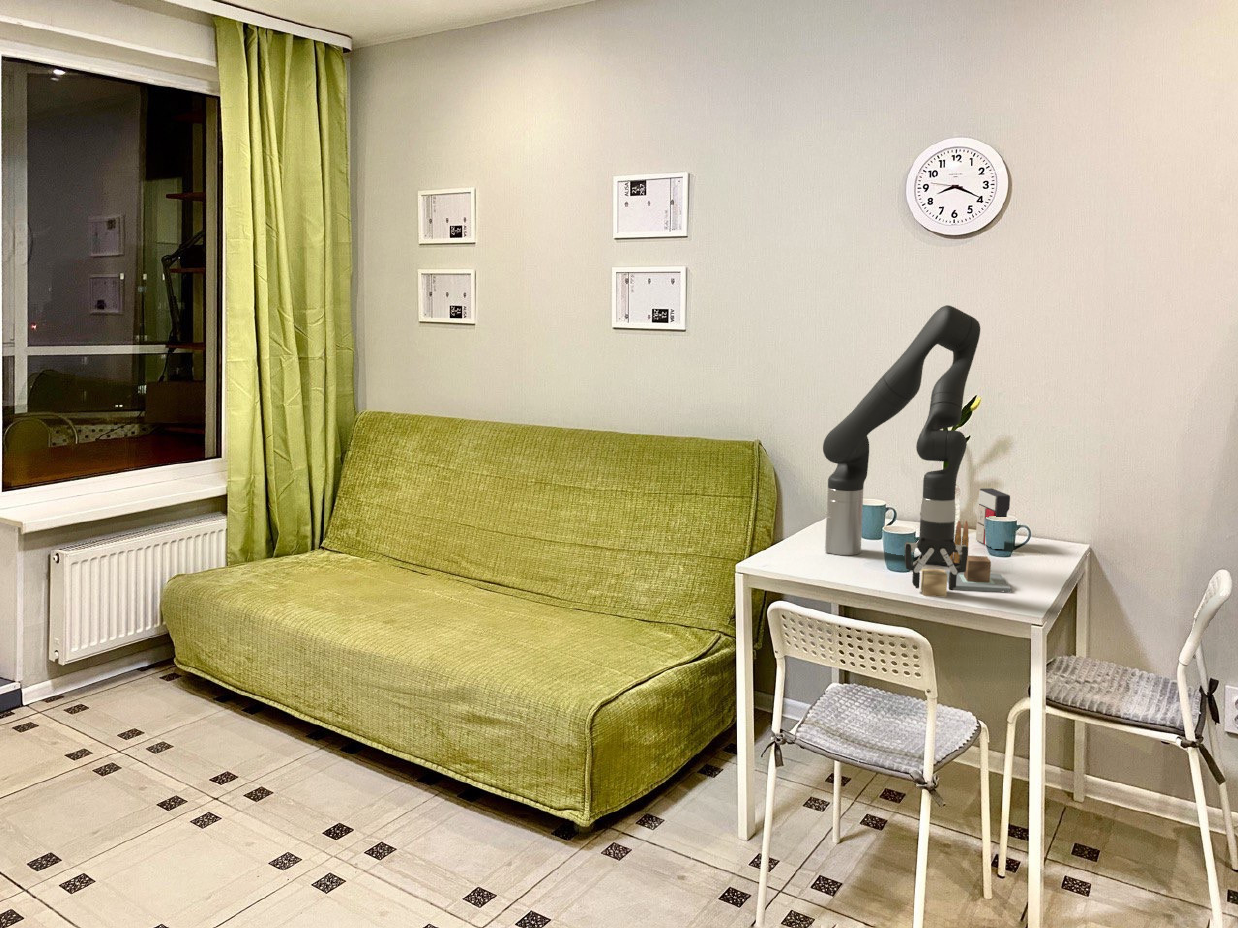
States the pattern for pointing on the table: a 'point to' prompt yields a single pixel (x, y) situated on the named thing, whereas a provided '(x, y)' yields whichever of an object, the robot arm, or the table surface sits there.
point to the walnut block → (977, 569)
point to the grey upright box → (990, 509)
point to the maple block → (933, 582)
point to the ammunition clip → (957, 541)
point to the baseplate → (981, 583)
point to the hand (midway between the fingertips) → (933, 588)
